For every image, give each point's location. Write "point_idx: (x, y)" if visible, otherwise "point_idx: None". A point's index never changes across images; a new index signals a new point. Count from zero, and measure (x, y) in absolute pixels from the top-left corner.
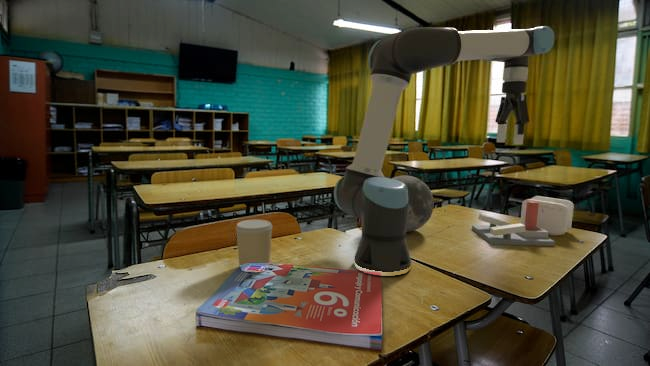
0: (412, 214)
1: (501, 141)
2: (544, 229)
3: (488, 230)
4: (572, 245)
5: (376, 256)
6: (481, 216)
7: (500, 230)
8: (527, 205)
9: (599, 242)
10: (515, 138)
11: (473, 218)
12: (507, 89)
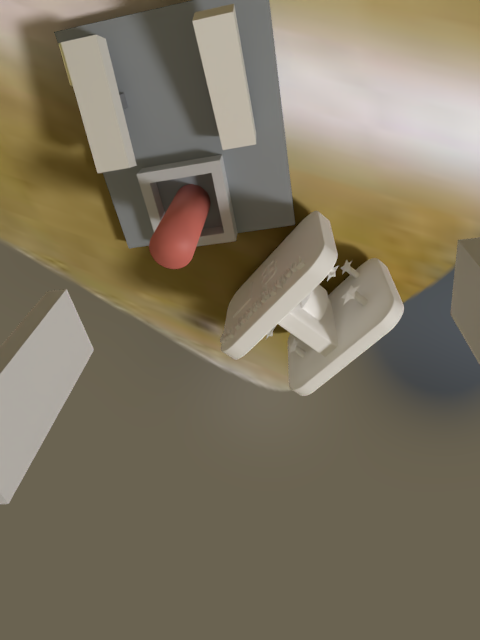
0: None
1: (457, 287)
2: (260, 266)
3: (191, 49)
4: (157, 290)
5: None
6: (203, 15)
7: (66, 71)
8: (166, 223)
9: (209, 360)
10: (21, 326)
11: (471, 36)
12: None
